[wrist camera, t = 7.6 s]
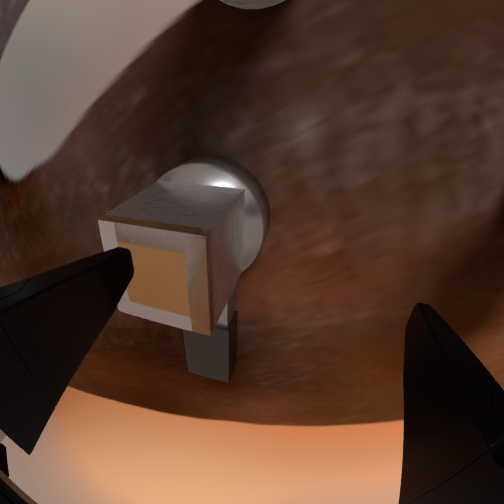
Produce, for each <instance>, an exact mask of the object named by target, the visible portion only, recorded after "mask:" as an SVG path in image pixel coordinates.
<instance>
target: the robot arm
mask: <svg viewBox="0 0 504 504" xmlns="http://www.w3.org/2000/svg"><path fill="white" fill-rule="evenodd" d="M133 276H134V265H133V260H132V255H131V251H130V250H129V249H127V248H123V247H117V248H114V249H110V250H107V251H104V252H101V253H98V254H95V255H92V256H89V257H86V258H83V259H80V260H77V261H74V262H71V263H68V264H66V265H63V266H60V267H57V268H54V269H51V270H48V271H46V272H43V273H40V274H37V275H34V276H32V277H30V278H26V279H23V280H21V281H18V282H15V283H12V284H9V285H6V286H3V287H0V504H37V503H36V502H35V501H34V500H32V499H31V498H30V497H29V496H28V495H27V494H25V493H24V492H23V491H22V490H21V489H20V488H19V487H18V486H17V485H15V484H14V483H13V482H12V481H11V480H10V479H9V478H8V477H9V471H8V464H7V454H6V447H5V446H4V445H3V444H2V443H1V442H2V440H3V439H4V437H5V436H6V435H7V436H8V437H9V438H10V439H11V440H13V441H14V442H15V443H16V444H17V445H18V446H19V447H20V448H22V449H23V450H24V451H25V452H26V453H27V454H28V455H30V454H31V453H32V451H33V449H34V447H35V445H36V443H37V441H38V439H39V437H40V435H41V433H42V431H43V429H44V427H45V426H46V424H47V422H48V420H49V418H50V416H51V415H52V413H53V411H54V409H55V406H56V405H57V403H58V402H59V400H60V398H61V396H62V395H63V393H64V391H65V389H66V388H67V386H68V384H69V383H70V381H71V379H72V377H73V376H74V374H75V372H76V371H77V369H78V367H79V366H80V364H81V363H82V361H83V359H84V358H85V356H86V354H87V353H88V351H89V350H90V348H91V346H92V345H93V343H94V342H95V340H96V339H97V337H98V335H99V334H100V332H101V331H102V329H103V328H104V326H105V325H106V323H107V322H108V320H109V319H110V317H111V316H112V314H113V312H114V311H115V309H116V307H117V305H118V304H119V302H120V300H121V298H122V296H123V294H124V292H125V291H126V289H127V287H128V285H129V283H130V282H131V280H132V278H133ZM403 388H404V441H403V462H402V477H401V488H400V497H399V504H504V390H503V389H502V388H501V386H500V385H499V384H498V382H497V381H495V379H494V377H493V376H492V375H491V374H490V373H489V371H488V370H487V369H486V368H485V366H484V365H483V364H482V363H481V362H480V360H479V359H478V358H477V357H476V356H475V354H474V353H473V352H472V351H471V350H470V349H469V347H468V346H467V345H466V344H465V343H464V342H463V341H462V339H461V338H460V337H459V336H458V335H457V334H456V333H455V332H454V330H453V329H452V328H451V327H450V326H449V325H448V324H447V323H446V322H445V321H444V320H443V318H442V317H441V316H440V315H439V314H438V313H437V312H436V311H435V310H434V309H433V308H432V307H431V306H430V305H429V304H423V303H417V304H416V305H415V307H414V309H413V311H412V313H411V316H410V318H409V320H408V322H407V325H406V329H405V352H404V370H403Z"/></svg>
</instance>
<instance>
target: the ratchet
mask: <svg viewBox="0 0 504 504" xmlns="http://www.w3.org/2000/svg"><path fill="white" fill-rule="evenodd" d="M157 181H167V182H179V183H190V184H201V185H211V186H221V187H230V188H239V189H245V206H244V234H243V264H242V272H243V271H244V270H246V269H247V268H248V267H249V266H250V265H251V264H252V262H253V261H254V260H255V258H256V256H257V254H258V252H259V250H260V248H261V246H262V243H263V241H264V239H265V237H266V235H267V232H268V229H269V224H270V208H269V203H268V199H267V196H266V194H265V192H264V190H263V188H262V186H261V185H260V183H259V182H258V180H257V179H256V178H255V177H254V176H253V175H252V174H251V173H250V172H249V171H248V170H247V169H245V168H244V167H243V166H241V165H240V164H238V163H236V162H234V161H232V160H229V159H226V158H223V157H218V156H201V157H197V158H193V159H191V160H188V161H186V162H184V163H182V164H181V165H179V166H177V167H175V168H173V169H172V170H170V171H168V172H167V173H165V174H164V175H162V176H161V177H160V178H159V179H158V180H157ZM157 181H156V182H157ZM235 301H236V286H235V288H234V290H233V292H232V294H231V296H230V298H229V300H228V302H227V304H226V306H225V308H224V310H223V312H222V314H221V316H220V318H219V320H218V322H217V324H216V326H215V328H214V330H213V332H212V334H211V336H209V335H205V334H201V333H196V332H192V331H189V330H185V329H182V331H183V338H184V345H185V352H186V358H187V365H188V371H189V372H191V373H194V374H198V375H201V376H205V377H208V378H212V379H216V380H220V381H224V382H227V383H229V381H230V378H231V376H232V373H233V370H234V368H235V365H236V347H237V314H238V311H235Z"/></svg>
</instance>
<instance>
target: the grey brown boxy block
mask: <svg viewBox="0 0 504 504" xmlns="http://www.w3.org/2000/svg"><path fill="white" fill-rule="evenodd" d="M244 206H245V189H239V188H230V187H221V186H211V185H201V184H190V183H179V182H167V181H157V182H156V183H154V184H152V185H151V186H149V187H147V188H146V189H144V190H143V191H141V192H139V193H138V194H136V195H135V196H133V197H132V198H130V199H129V200H127V201H125V202H124V203H122V204H121V205H119V206H118V207H116V208H115V209H113V210H112V211H110V212H109V213H107V214H106V215H104V216H103V217H102V218H100V219H99V220H98V223H99V228H100V234H101V239H102V244H103V248H104V251H107V250H110V249H114V248H117V247H123V248H127V249H129V250H130V251H131V255H132V260H133V265H134V276H133V278H132V280H131V282H130V283H129V285H128V287H127V289H126V291H125V292H124V294H123V296H122V298H121V300H120V302H119V304H118V305H117V306H118V309H119V311H121V312H125V313H128V314H131V315H134V316H138V317H141V318H145V319H148V320H152V321H155V322H159V323H162V324H166V325H170V326H173V327H177V328H181V329H185V330H189V331H192V332H196V333H201V334H205V335H209V336H211V334H212V332H213V330H214V328H215V326H216V324H217V322H218V320H219V318H220V316H221V314H222V312H223V310H224V308H225V306H226V304H227V302H228V300H229V298H230V296H231V294H232V292H233V290H234V288H235V286H236V284H237V282H238V280H239V278H240V276H241V273H242V264H243V234H244Z"/></svg>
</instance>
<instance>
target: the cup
mask: <svg viewBox="0 0 504 504" xmlns="http://www.w3.org/2000/svg"><path fill="white" fill-rule="evenodd" d="M220 1H222V2H223V3H225V4H227V5H230V6H233V7H236V8H242V9H261V8H267V7H271V6H274V5H277V4H279V3H281V2H283V1H285V0H220Z"/></svg>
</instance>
